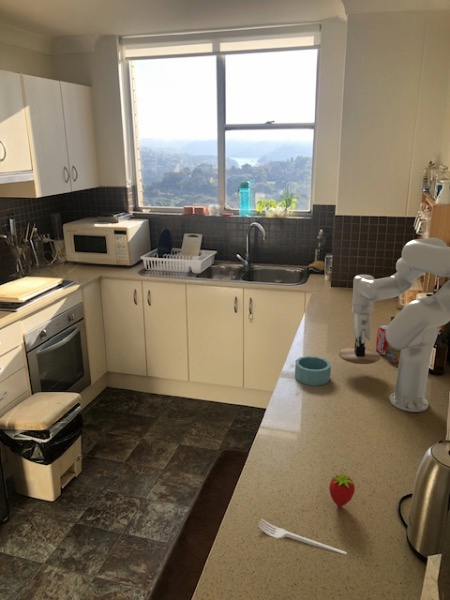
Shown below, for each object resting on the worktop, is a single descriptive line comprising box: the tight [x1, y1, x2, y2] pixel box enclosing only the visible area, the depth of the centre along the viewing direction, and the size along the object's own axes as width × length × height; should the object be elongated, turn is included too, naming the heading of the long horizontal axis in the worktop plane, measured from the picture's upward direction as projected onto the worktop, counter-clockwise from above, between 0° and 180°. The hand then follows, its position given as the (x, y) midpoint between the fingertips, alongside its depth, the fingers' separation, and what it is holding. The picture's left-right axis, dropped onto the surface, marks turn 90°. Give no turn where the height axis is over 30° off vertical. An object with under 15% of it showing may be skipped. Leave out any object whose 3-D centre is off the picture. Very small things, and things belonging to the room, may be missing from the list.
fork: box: [257, 517, 347, 556], centre depth 107 cm, size 3×20×2 cm, turn 68°
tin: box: [384, 345, 401, 365], centre depth 194 cm, size 15×3×8 cm, turn 62°
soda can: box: [375, 323, 389, 356], centre depth 204 cm, size 7×7×12 cm
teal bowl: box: [294, 355, 332, 387], centre depth 182 cm, size 13×13×6 cm
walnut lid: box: [338, 343, 381, 365], centre depth 183 cm, size 15×15×6 cm
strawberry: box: [328, 472, 355, 508], centre depth 116 cm, size 6×8×10 cm
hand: (359, 353), depth 183 cm, fingers closed on walnut lid, 3 cm apart
